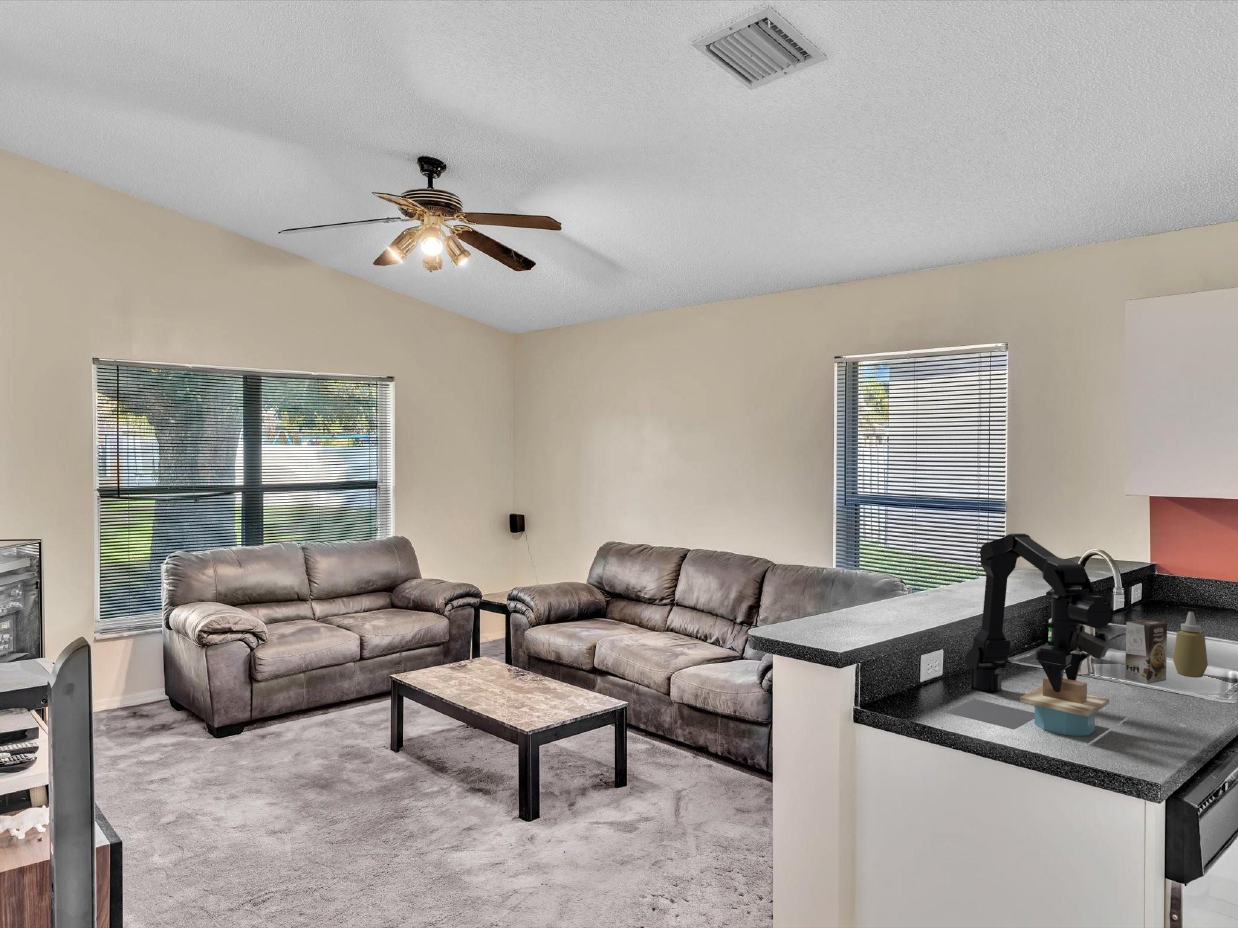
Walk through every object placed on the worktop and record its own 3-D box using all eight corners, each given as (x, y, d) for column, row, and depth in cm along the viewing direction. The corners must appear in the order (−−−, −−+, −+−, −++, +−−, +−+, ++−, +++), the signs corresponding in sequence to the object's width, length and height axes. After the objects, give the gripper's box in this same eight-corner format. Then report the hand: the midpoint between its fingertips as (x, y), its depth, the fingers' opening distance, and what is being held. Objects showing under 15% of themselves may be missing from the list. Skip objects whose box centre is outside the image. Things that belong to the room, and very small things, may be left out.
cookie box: (1148, 684, 220) (1149, 625, 220) (1124, 678, 225) (1125, 620, 225) (1167, 680, 224) (1168, 622, 224) (1143, 674, 230) (1144, 618, 229)
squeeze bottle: (1165, 671, 233) (1166, 609, 233) (1192, 671, 234) (1193, 609, 234) (1187, 679, 225) (1188, 614, 225) (1214, 679, 226) (1216, 614, 226)
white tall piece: (1098, 675, 228) (1099, 622, 228) (1071, 674, 230) (1072, 621, 229) (1089, 669, 235) (1089, 617, 235) (1062, 667, 236) (1063, 616, 236)
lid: (1019, 701, 183) (1020, 679, 183) (1043, 689, 193) (1043, 668, 193) (1087, 716, 173) (1088, 693, 173) (1109, 703, 182) (1109, 681, 182)
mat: (944, 713, 193) (944, 711, 193) (974, 700, 204) (974, 698, 204) (1014, 730, 181) (1014, 729, 181) (1041, 715, 192) (1041, 714, 192)
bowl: (1028, 728, 183) (1029, 701, 183) (1047, 717, 191) (1047, 692, 191) (1082, 741, 175) (1082, 713, 175) (1099, 729, 182) (1099, 703, 182)
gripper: (1091, 630, 170) (1089, 704, 170) (1119, 619, 183) (1118, 688, 183) (1035, 622, 178) (1034, 692, 179) (1066, 611, 191) (1064, 677, 191)
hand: (1064, 687), depth 183 cm, fingers open, 9 cm apart
